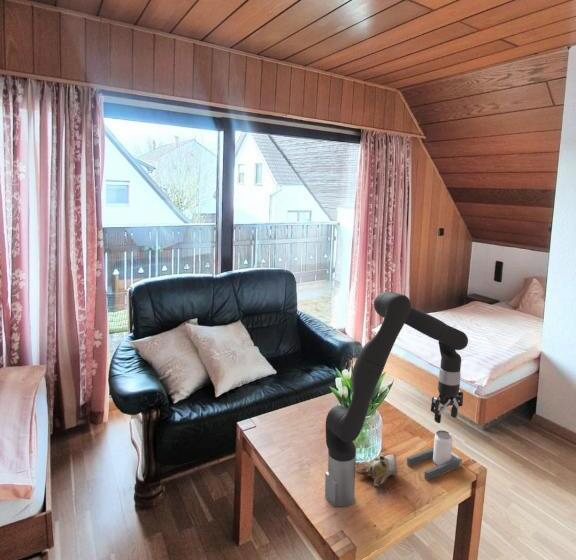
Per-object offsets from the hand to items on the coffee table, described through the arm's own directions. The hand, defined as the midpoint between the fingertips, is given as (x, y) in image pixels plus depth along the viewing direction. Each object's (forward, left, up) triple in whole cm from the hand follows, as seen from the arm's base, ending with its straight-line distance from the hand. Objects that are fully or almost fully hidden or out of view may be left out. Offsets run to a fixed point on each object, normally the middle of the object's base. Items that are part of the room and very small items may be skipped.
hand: (445, 419), depth 164 cm
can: (0, 0, -19) cm, 19 cm away
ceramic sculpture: (-27, +4, -19) cm, 33 cm away
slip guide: (-4, 0, -18) cm, 19 cm away
